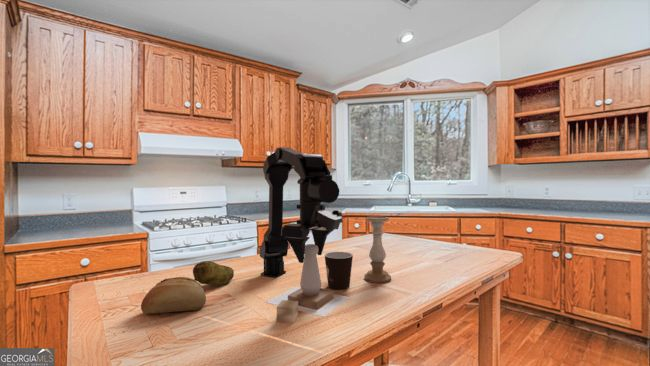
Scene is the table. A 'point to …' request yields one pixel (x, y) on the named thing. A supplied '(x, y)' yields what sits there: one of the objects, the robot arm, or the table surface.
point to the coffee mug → (338, 269)
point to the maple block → (287, 311)
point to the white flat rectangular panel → (321, 311)
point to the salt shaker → (310, 271)
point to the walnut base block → (312, 298)
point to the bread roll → (174, 296)
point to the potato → (212, 273)
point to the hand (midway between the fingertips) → (310, 258)
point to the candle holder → (377, 252)
